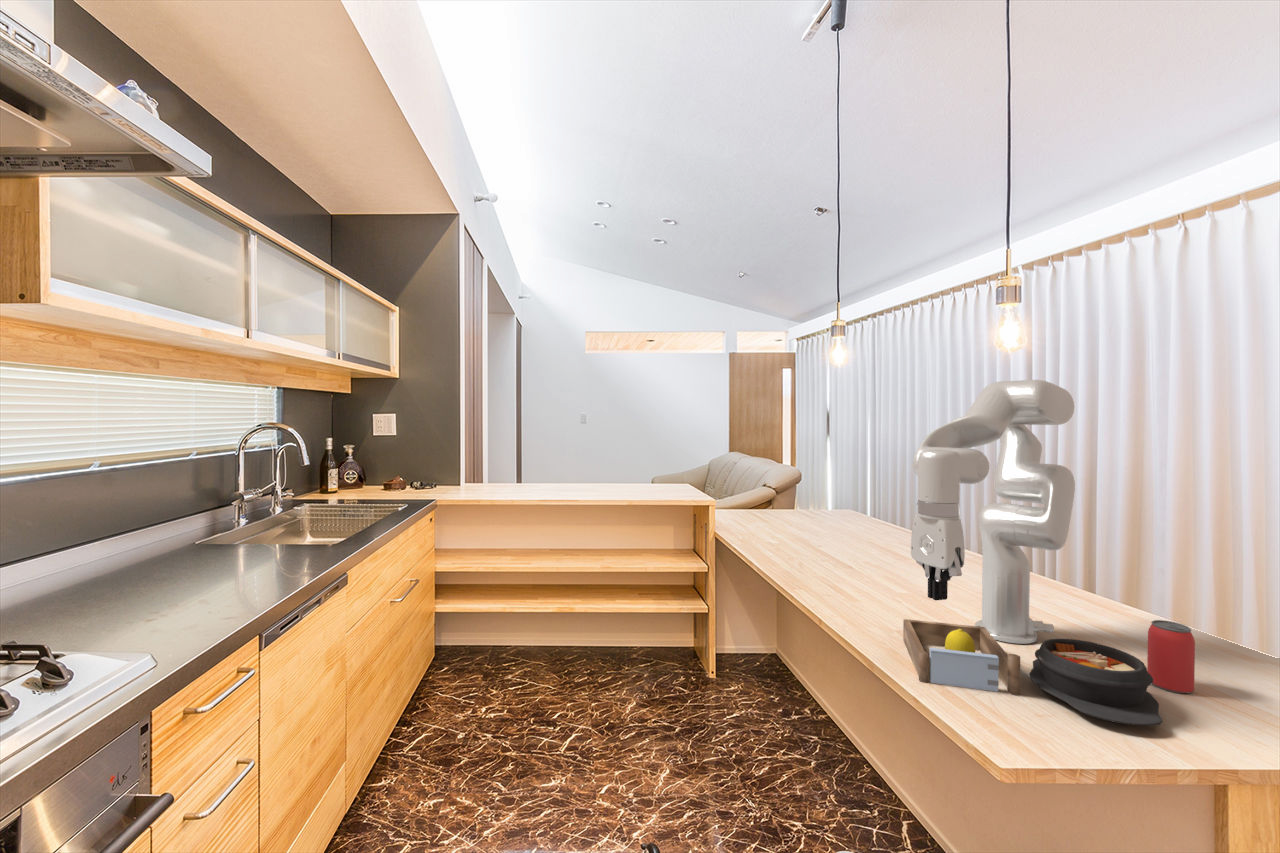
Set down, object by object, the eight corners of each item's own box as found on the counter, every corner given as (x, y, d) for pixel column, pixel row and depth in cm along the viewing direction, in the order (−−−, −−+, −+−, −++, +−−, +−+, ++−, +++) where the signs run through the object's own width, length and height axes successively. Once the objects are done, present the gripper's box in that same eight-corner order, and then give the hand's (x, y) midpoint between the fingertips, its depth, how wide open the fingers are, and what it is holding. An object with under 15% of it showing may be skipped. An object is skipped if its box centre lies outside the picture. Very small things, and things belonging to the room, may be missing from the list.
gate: (996, 688, 105) (996, 655, 105) (998, 692, 104) (998, 658, 104) (929, 679, 109) (929, 647, 109) (930, 683, 107) (931, 650, 107)
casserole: (1008, 663, 116) (1009, 624, 116) (1113, 674, 111) (1114, 634, 111) (1062, 726, 92) (1063, 677, 92) (1199, 745, 87) (1200, 693, 87)
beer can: (1183, 697, 102) (1184, 634, 102) (1139, 682, 108) (1140, 621, 108) (1201, 690, 104) (1202, 628, 104) (1157, 675, 110) (1158, 617, 110)
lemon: (969, 675, 110) (970, 636, 110) (940, 666, 115) (940, 628, 114) (979, 667, 114) (979, 629, 114) (950, 658, 118) (950, 622, 118)
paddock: (986, 649, 123) (986, 618, 123) (1021, 695, 102) (1022, 658, 102) (902, 639, 128) (902, 610, 128) (919, 682, 108) (920, 647, 107)
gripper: (896, 504, 118) (896, 588, 119) (952, 517, 104) (951, 612, 104) (925, 503, 120) (925, 586, 121) (984, 515, 106) (983, 609, 106)
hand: (937, 598), depth 112 cm, fingers closed
